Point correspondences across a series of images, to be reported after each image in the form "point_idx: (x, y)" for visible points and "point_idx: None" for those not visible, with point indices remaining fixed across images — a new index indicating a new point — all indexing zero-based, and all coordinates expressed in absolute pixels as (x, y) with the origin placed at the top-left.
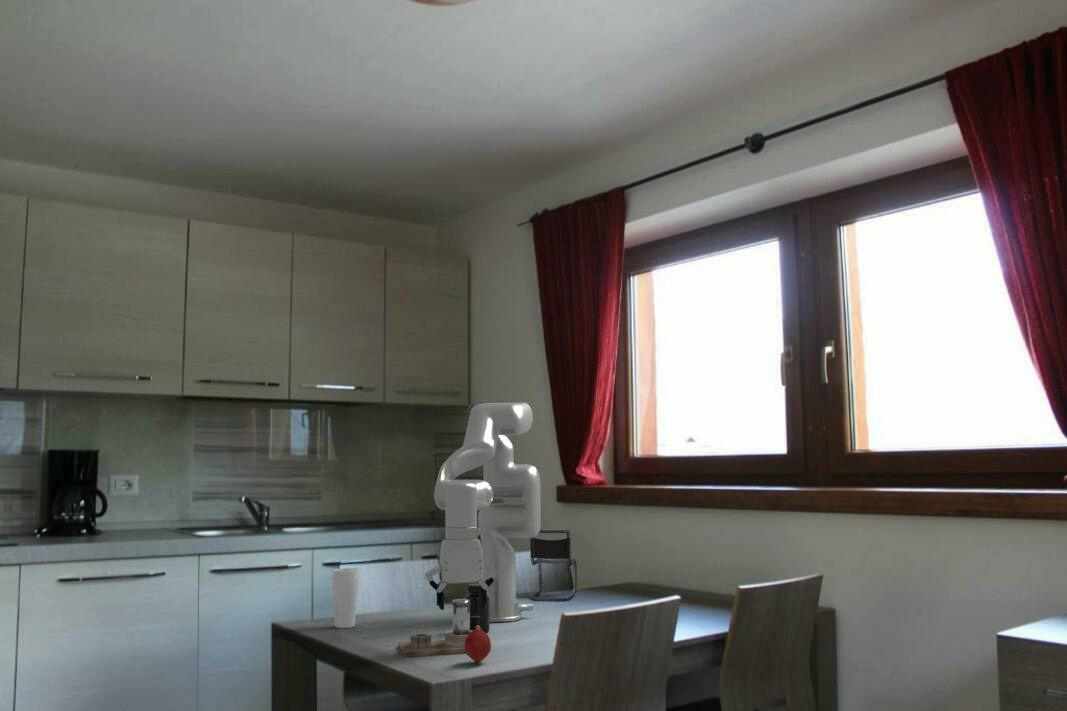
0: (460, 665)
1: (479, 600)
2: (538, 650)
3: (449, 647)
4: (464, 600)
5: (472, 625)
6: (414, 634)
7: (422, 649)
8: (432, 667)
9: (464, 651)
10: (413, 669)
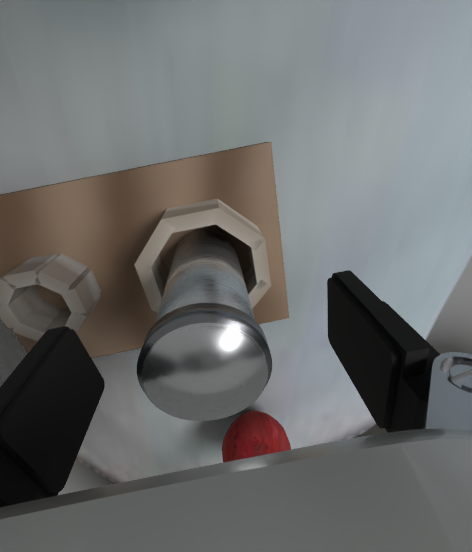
0: (211, 427)
1: (342, 311)
2: (427, 299)
3: None
4: (230, 391)
5: None
6: (5, 295)
7: (84, 334)
8: (151, 440)
9: None
10: (113, 453)
